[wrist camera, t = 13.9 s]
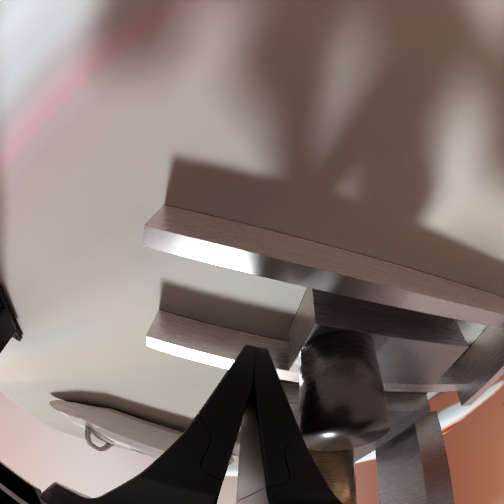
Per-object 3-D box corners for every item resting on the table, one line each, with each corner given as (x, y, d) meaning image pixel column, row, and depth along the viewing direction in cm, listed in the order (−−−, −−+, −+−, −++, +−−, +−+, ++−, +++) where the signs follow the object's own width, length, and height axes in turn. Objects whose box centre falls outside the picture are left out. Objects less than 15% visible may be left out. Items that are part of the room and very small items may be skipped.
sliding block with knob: (289, 328, 13) (285, 448, 8) (311, 279, 11) (321, 414, 6) (420, 349, 13) (448, 441, 8) (450, 311, 12) (493, 407, 7)
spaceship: (231, 428, 20) (223, 476, 16) (239, 451, 23) (234, 489, 19) (35, 377, 23) (19, 405, 19) (62, 407, 26) (50, 433, 22)
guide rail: (158, 320, 14) (137, 365, 11) (163, 204, 10) (127, 243, 8) (457, 370, 14) (470, 404, 12) (514, 300, 11) (537, 334, 8)
